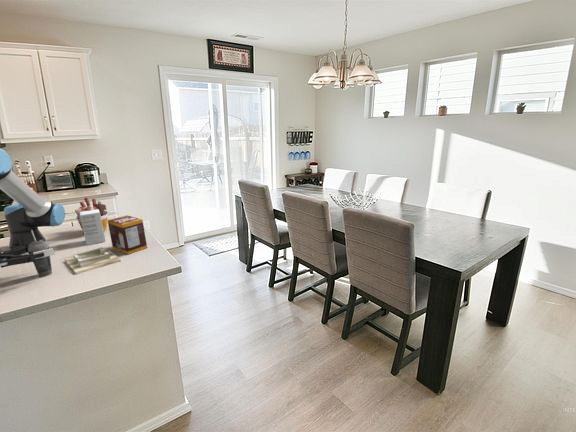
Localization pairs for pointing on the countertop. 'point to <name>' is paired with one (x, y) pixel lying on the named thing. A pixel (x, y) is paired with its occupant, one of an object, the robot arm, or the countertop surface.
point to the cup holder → (91, 260)
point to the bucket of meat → (95, 206)
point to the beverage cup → (42, 263)
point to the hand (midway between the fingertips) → (51, 247)
